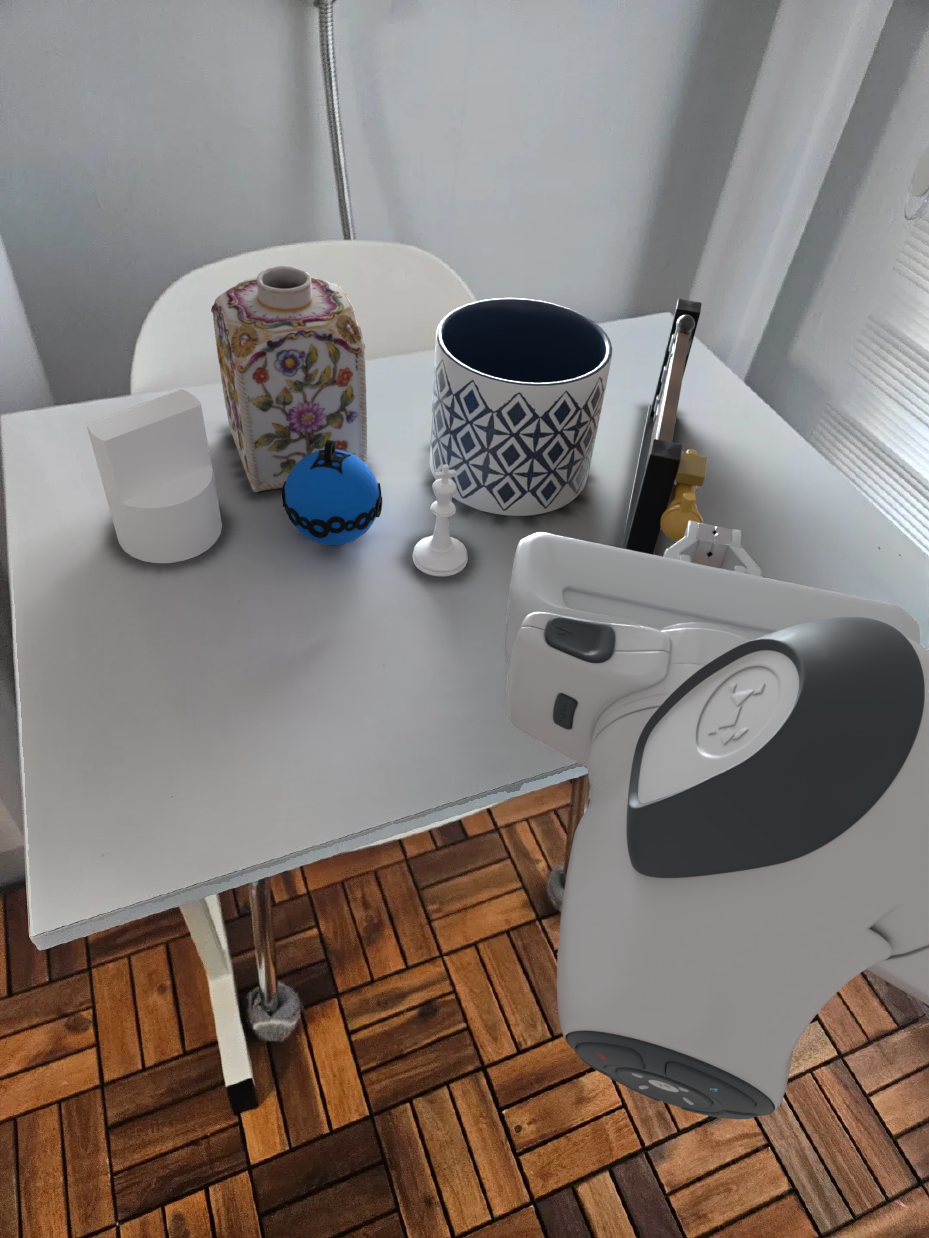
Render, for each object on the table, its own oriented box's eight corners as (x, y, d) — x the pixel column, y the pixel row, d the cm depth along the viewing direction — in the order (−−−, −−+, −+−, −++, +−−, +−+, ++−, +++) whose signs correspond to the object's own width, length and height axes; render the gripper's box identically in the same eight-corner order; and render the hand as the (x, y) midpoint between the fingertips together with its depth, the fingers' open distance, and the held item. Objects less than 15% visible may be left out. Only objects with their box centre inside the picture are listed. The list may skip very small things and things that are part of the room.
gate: (652, 414, 97) (678, 309, 88) (670, 418, 96) (698, 313, 88) (625, 547, 80) (654, 434, 72) (647, 552, 80) (678, 439, 72)
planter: (558, 421, 96) (579, 293, 86) (609, 511, 86) (640, 378, 75) (414, 432, 93) (418, 301, 83) (449, 528, 82) (459, 391, 72)
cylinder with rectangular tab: (188, 487, 84) (166, 373, 75) (241, 535, 80) (224, 420, 71) (98, 525, 79) (64, 408, 71) (150, 578, 75) (120, 460, 66)
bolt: (666, 469, 77) (678, 427, 74) (703, 476, 76) (716, 434, 73) (654, 546, 69) (667, 503, 66) (695, 555, 69) (710, 512, 66)
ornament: (301, 499, 84) (294, 407, 77) (390, 513, 83) (391, 421, 76) (273, 558, 78) (262, 464, 71) (369, 573, 77) (367, 480, 70)
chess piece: (405, 545, 80) (407, 453, 73) (457, 536, 82) (464, 444, 74) (421, 581, 77) (425, 488, 70) (475, 571, 78) (484, 479, 71)
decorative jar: (338, 412, 95) (331, 243, 82) (370, 475, 87) (369, 300, 74) (225, 429, 91) (200, 255, 78) (249, 496, 84) (225, 316, 71)
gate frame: (648, 409, 99) (675, 298, 90) (691, 417, 99) (723, 306, 89) (615, 577, 79) (645, 455, 70) (669, 589, 78) (708, 468, 69)
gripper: (966, 732, 37) (927, 528, 46) (484, 625, 39) (542, 453, 49) (903, 815, 41) (880, 613, 51) (475, 714, 44) (529, 541, 53)
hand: (711, 534), depth 50 cm, fingers closed
